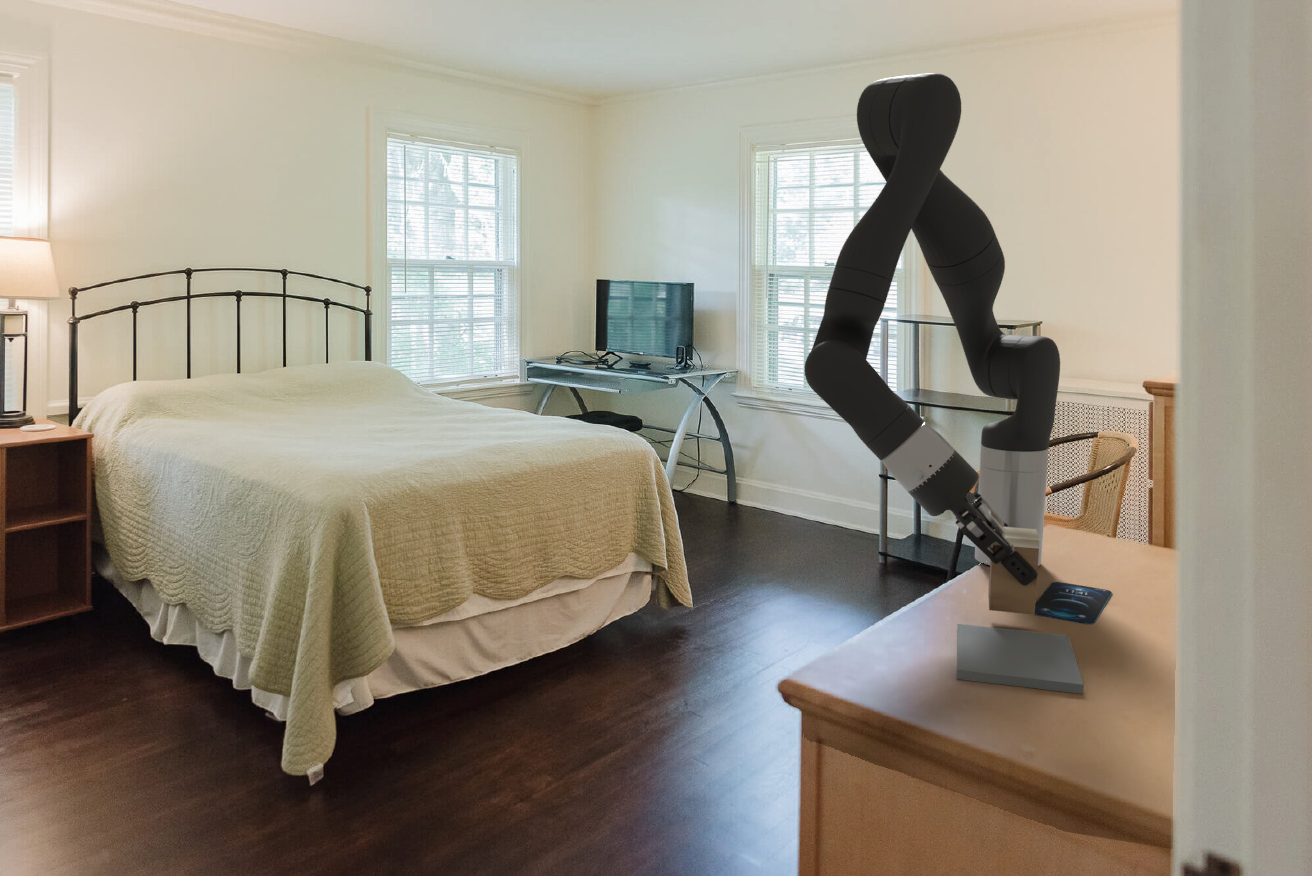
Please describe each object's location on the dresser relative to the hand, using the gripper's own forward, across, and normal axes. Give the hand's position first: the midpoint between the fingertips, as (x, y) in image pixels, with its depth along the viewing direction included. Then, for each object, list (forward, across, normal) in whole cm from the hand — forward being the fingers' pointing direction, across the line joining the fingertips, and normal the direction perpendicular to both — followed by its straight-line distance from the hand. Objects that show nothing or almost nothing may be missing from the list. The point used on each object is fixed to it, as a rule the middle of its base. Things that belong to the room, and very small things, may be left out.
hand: (1029, 572), depth 111 cm
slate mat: (+3, -12, +6) cm, 14 cm away
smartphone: (+9, +11, +1) cm, 14 cm away
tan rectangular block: (+2, 0, +4) cm, 5 cm away
